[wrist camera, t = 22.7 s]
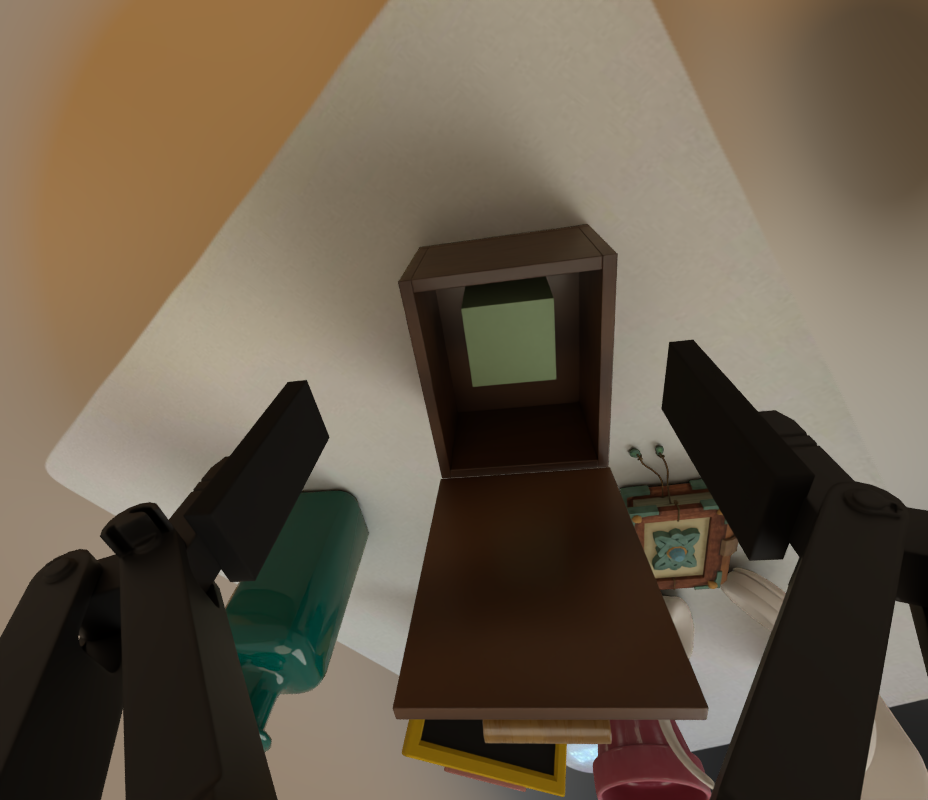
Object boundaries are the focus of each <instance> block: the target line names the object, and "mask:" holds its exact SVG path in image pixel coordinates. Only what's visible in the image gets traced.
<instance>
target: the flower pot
mask: <svg viewBox="0 0 928 800" xmlns="http://www.w3.org/2000/svg"><path fill="white" fill-rule="evenodd" d="M670 722H671V725H672V728H673V731H674V733H675V735H676V737H677V739H678V741H679V743H680V745H681V747H682V748H683V750H684V751H685V753H686V754H687V756H688V757H689V758H690V759H691V761H692V762H693V763H694V764H695V765H696V766H697V767H698V768H699V769H700V770H701V771H702V772H704V769H703V766H702V763H701V761H700V760H699V759H698V757H697V756H695V755H694V754H692V753H691V752H690V750H689V748H688V746H687V744H686V742H685V740H684V738H683V736H682V734H681V732H680V730H679V728H678V726H677V724H676V722H675V720H670ZM610 726H611V736H612V741H611V744H598V757H597V758H596V759H595V760H594V762H593V773H594V781H595V788H596V793H597V798H598V800H709V799H710V796H711V791H710V788H709V787H708V786H707V785H706V784H704V783H703V782H702V781H700V780H699V779H698V778H697V777H696V776H695V775H693V774H692V773H691V772H690V771H689V770H688V769H687V768H686V767H685V766H684V764H683V763H682V762H681V761H680V760H679V759H678V757H677V756H676V754H675V753H674V752H673V750H672V748H671V747H670V745H669V744H668V742H667V740H666V738H665V736H664V734H663V731H662V729H661V727H660V724H659V721H658V720H610ZM704 773H705V772H704Z"/></svg>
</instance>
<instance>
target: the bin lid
mask: <svg viewBox="0 0 928 800" xmlns="http://www.w3.org/2000/svg"><path fill="white" fill-rule="evenodd" d="M393 711H394V714H395V717H396V719H483V734H484V740H485V743H538V744H611V741H612V736H611V726H610V720H706V719H707V714H708V705H707V703H706V700H705V698H704V696H703V693H702V691H701V688H700V686H699V683H698V681H697V678H696V676H695V674H694V671H693V669H692V666H691V664H690V661H689V659H688V657H687V654H686V652H685V649H684V647H683V644H682V642H681V639H680V637H679V635H678V632H677V630H676V627H675V625H674V622H673V620H672V618H671V615H670V613H669V610H668V608H667V605H666V603H665V600H664V598H663V596H662V593H661V591H660V588H659V586H658V583H657V581H656V579H655V576H654V574H653V571H652V569H651V566H650V564H649V562H648V559H647V557H646V554H645V552H644V549H643V547H642V544H641V542H640V540H639V537H638V535H637V532H636V530H635V527H634V525H633V523H632V520H631V518H630V515H629V513H628V510H627V508H626V505H625V503H624V501H623V498H622V496H621V493H620V491H619V488H618V486H617V484H616V481H615V479H614V476H613V474H612V471H611V469H610V467H608V468H593V469H578V470H564V471H549V472H535V473H520V474H505V475H491V476H476V477H462V478H447V479H441V480H440V485H439V490H438V495H437V499H436V504H435V509H434V514H433V519H432V523H431V528H430V533H429V538H428V542H427V547H426V552H425V557H424V561H423V566H422V571H421V576H420V580H419V585H418V590H417V595H416V600H415V604H414V609H413V614H412V619H411V623H410V628H409V633H408V638H407V642H406V647H405V652H404V657H403V661H402V666H401V671H400V676H399V681H398V685H397V691H396V695H395V700H394V704H393Z"/></svg>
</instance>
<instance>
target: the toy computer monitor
mask: <svg viewBox="0 0 928 800" xmlns="http://www.w3.org/2000/svg"><path fill="white" fill-rule="evenodd" d="M566 750H567V744H538V743H485V740H484V734H483V719H409V723H408V727H407V731H406V736H405V740H404V745H403V749H402V754H403V755H404V756H406V757H410V758H414V759H418V760H422V761H426V762H429V763H433V764H437V765H441V766H445V768H444V770H445V771H446V772H449V773H453V774H457V775H461V776H465V777H469V778H473V779H476V780H480V781H484V782H488V783H492V784H496V785H500V786H504V787H508V788H512V789H515V790H520V791H523V792H525V791H526V788H530V789H535V790H538V791H542V792H546V793H550V794H554V795H558V796H561V797H564V796H565V778H566V777H565V776H566Z"/></svg>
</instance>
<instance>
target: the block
mask: <svg viewBox="0 0 928 800" xmlns="http://www.w3.org/2000/svg"><path fill="white" fill-rule="evenodd" d="M461 312H462V318H463V325H464V332H465V338H466V345H467V352H468V359H469V365H470V372H471V379H472V385H473V387H478V386H488V385H499V384H510V383H521V382H532V381H543V380H554V379H556V351H555V319H554V297H553V295H552V292H551V289H550V286H549V283H548V281H547V278H546V276H545V277H537V278H529V279H521V280H513V281H505V282H496V283H488V284H480V285H472V286H465V290H464V296H463V301H462V307H461Z"/></svg>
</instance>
